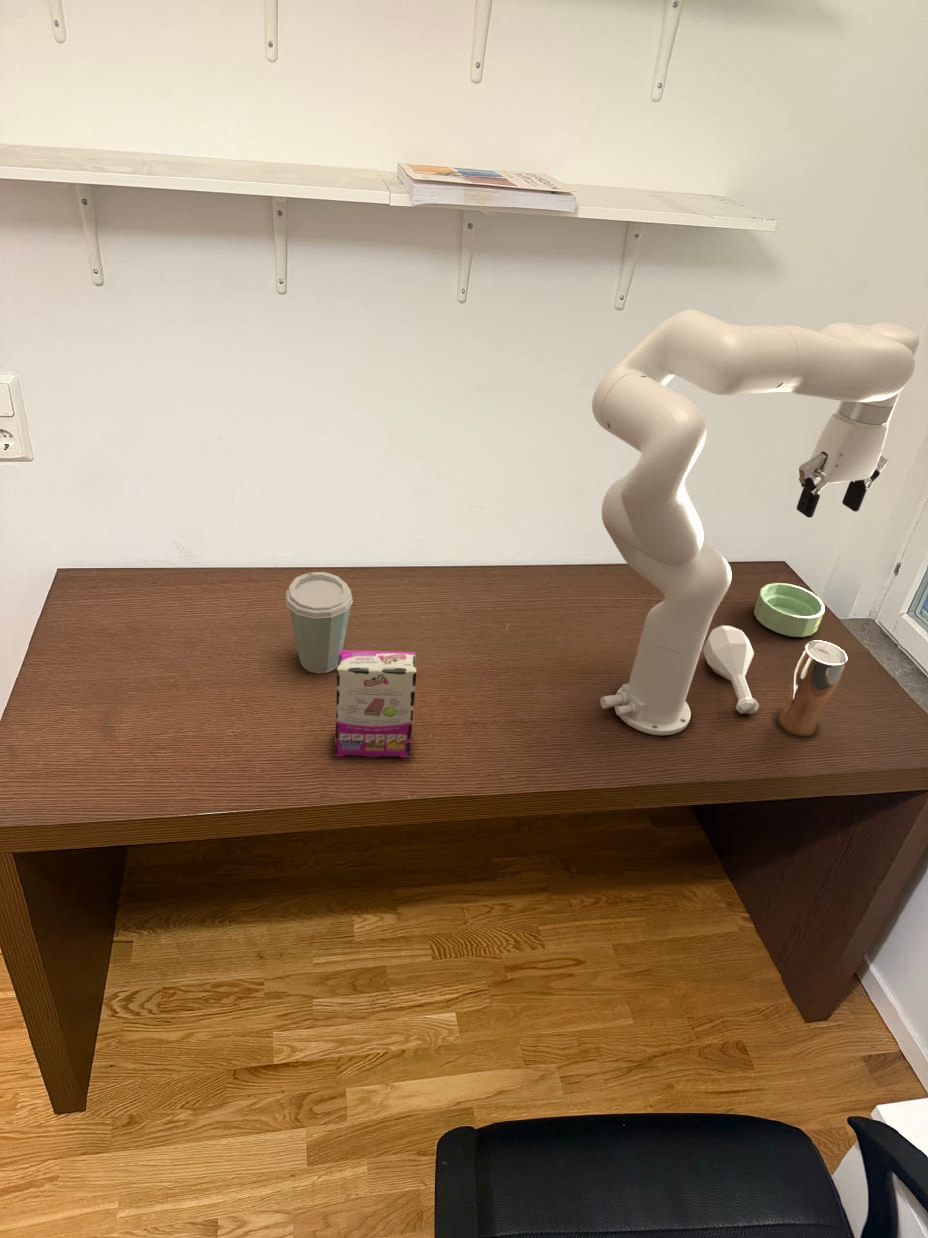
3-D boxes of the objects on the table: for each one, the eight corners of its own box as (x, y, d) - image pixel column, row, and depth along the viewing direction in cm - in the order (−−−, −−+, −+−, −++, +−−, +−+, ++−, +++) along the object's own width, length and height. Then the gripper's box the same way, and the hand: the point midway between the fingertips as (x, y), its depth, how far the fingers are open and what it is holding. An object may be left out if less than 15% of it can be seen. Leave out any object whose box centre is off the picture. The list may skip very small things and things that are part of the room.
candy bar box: (408, 736, 139) (417, 650, 130) (409, 759, 135) (418, 672, 126) (334, 734, 138) (338, 647, 128) (333, 757, 133) (336, 669, 124)
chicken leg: (714, 719, 152) (749, 691, 147) (689, 640, 164) (720, 611, 159) (751, 733, 155) (786, 705, 150) (723, 654, 168) (755, 626, 163)
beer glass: (799, 708, 156) (828, 637, 147) (826, 734, 151) (858, 662, 142) (766, 714, 153) (794, 642, 145) (792, 741, 148) (823, 668, 140)
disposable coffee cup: (360, 674, 150) (364, 598, 142) (297, 688, 145) (298, 611, 137) (336, 638, 158) (339, 565, 149) (276, 651, 153) (275, 575, 144)
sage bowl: (780, 643, 172) (788, 622, 169) (740, 608, 181) (747, 587, 178) (829, 634, 176) (838, 612, 174) (788, 600, 185) (795, 579, 183)
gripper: (888, 397, 143) (850, 495, 152) (804, 402, 136) (770, 504, 146) (925, 415, 137) (883, 516, 147) (839, 422, 131) (801, 527, 140)
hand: (827, 510), depth 146 cm, fingers open, 9 cm apart
